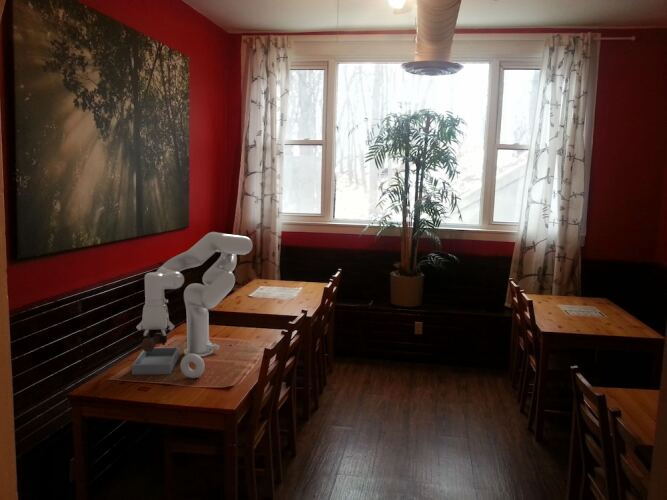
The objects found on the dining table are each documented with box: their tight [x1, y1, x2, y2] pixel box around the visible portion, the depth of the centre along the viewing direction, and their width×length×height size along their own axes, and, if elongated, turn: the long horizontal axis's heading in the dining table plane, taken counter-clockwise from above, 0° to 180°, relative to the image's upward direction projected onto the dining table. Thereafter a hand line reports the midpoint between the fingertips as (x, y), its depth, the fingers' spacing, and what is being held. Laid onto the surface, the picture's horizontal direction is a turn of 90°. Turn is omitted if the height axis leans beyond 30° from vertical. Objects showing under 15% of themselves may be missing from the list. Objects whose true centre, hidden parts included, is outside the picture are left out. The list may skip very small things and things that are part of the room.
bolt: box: [140, 332, 163, 352], centre depth 224 cm, size 6×5×15 cm
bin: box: [131, 346, 181, 376], centre depth 225 cm, size 15×21×4 cm
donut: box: [179, 354, 206, 379], centre depth 212 cm, size 10×3×10 cm, turn 80°
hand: (155, 343), depth 224 cm, fingers closed on bolt, 5 cm apart
